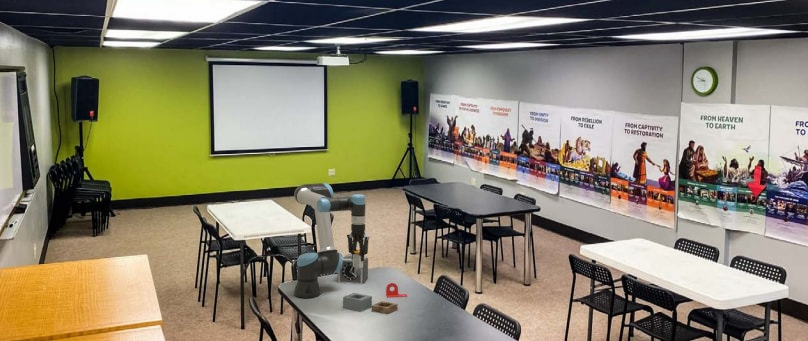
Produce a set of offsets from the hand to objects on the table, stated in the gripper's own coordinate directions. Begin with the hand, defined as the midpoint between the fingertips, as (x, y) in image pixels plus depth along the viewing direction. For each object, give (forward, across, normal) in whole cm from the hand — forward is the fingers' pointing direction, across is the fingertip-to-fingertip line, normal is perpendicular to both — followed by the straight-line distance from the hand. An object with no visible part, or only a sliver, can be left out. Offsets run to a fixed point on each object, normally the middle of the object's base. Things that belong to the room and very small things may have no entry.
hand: (357, 266), depth 341 cm
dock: (+23, 0, 0) cm, 23 cm away
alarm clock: (+23, -31, +39) cm, 55 cm away
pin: (+4, 0, 0) cm, 4 cm away
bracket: (+23, +7, +29) cm, 38 cm away
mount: (+23, +15, +4) cm, 27 cm away
